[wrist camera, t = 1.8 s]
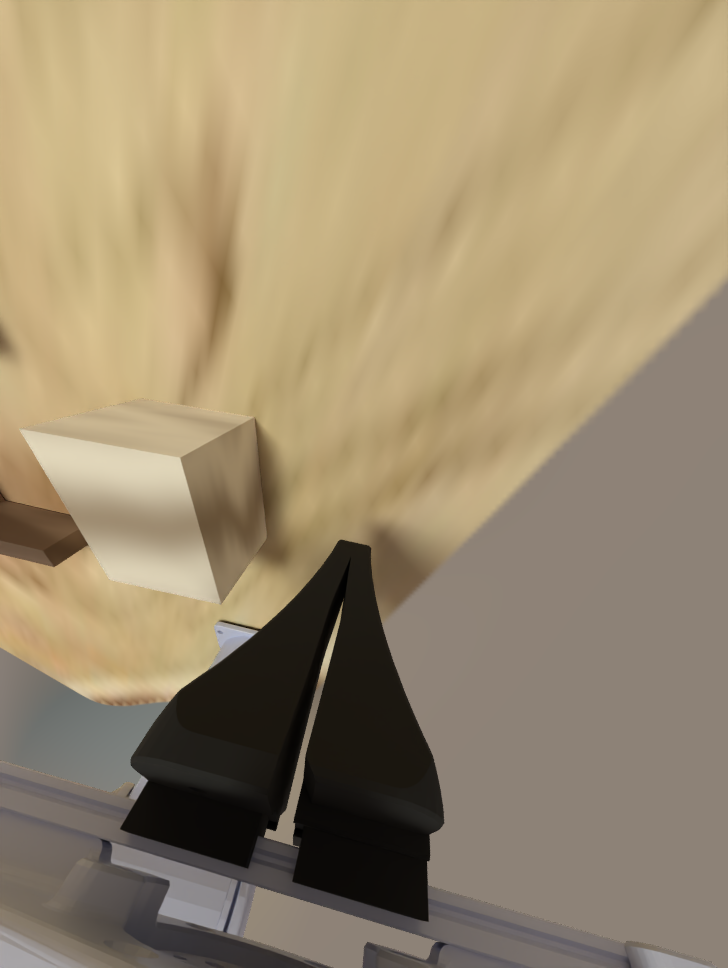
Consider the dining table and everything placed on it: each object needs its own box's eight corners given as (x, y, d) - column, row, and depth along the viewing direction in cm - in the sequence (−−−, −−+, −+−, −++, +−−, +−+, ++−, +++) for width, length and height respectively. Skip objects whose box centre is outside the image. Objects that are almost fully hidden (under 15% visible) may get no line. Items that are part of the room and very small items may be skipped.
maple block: (268, 536, 17) (221, 604, 13) (183, 519, 17) (109, 579, 13) (256, 416, 13) (180, 458, 9) (144, 397, 13) (18, 428, 9)
